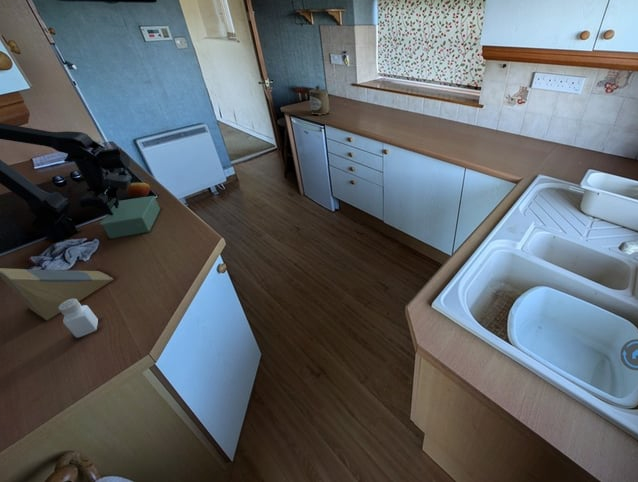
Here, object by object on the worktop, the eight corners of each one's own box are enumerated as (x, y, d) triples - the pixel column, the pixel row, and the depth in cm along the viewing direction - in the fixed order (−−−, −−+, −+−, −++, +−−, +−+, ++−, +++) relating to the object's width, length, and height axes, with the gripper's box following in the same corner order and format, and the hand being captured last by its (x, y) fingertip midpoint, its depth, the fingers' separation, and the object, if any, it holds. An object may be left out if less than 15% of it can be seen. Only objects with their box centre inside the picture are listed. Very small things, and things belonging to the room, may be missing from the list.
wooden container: (307, 113, 241) (304, 85, 230) (322, 109, 251) (319, 83, 240) (319, 116, 233) (316, 88, 222) (333, 113, 243) (331, 85, 231)
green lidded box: (110, 238, 102) (102, 225, 99) (125, 214, 115) (119, 202, 112) (149, 231, 106) (142, 218, 103) (160, 209, 118) (154, 197, 115)
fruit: (122, 202, 120) (120, 182, 119) (134, 201, 127) (131, 183, 127) (145, 199, 121) (142, 180, 121) (155, 199, 129) (153, 181, 129)
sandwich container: (115, 279, 86) (89, 240, 79) (47, 321, 74) (9, 279, 67) (98, 270, 89) (72, 231, 82) (30, 309, 77) (-8, 268, 70)
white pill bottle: (97, 331, 72) (77, 305, 67) (76, 339, 70) (53, 314, 65) (99, 319, 75) (80, 294, 70) (78, 327, 73) (57, 302, 68)
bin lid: (100, 225, 99) (92, 213, 96) (117, 202, 111) (111, 191, 109) (142, 218, 103) (136, 206, 100) (154, 196, 115) (149, 185, 113)
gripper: (111, 179, 92) (132, 219, 100) (131, 157, 107) (148, 193, 115) (66, 185, 89) (91, 226, 97) (93, 161, 104) (113, 198, 112)
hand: (113, 209), depth 105 cm, fingers closed on bin lid, 6 cm apart
